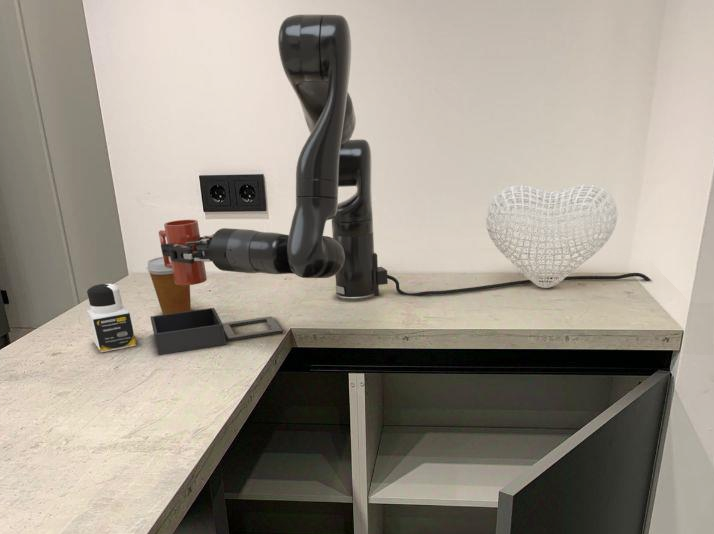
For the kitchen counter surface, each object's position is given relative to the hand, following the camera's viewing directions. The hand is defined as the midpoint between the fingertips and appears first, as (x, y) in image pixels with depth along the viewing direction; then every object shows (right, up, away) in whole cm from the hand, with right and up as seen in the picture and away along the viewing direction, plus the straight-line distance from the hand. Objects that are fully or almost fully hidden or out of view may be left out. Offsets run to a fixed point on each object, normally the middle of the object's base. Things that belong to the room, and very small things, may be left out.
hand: (175, 245), depth 141 cm
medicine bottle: (-14, -18, +8) cm, 24 cm away
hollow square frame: (+13, -14, +12) cm, 22 cm away
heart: (+78, -1, +28) cm, 83 cm away
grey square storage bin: (+1, -17, +8) cm, 19 cm away
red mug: (+1, -6, +3) cm, 7 cm away
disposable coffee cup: (-6, -7, +26) cm, 28 cm away
